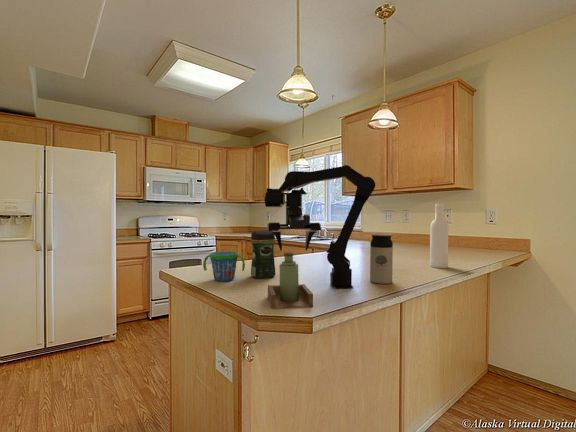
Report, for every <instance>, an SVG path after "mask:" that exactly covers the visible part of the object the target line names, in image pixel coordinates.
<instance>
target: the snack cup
mask: <svg viewBox="0 0 576 432" xmlns="http://www.w3.org/2000/svg"><path fill="white" fill-rule="evenodd" d="M238 258H240V259H241V262H242V265H241V266H242V267H241V268H242V269H241V271H242V272H244V271H245V268H246V267H245V266H246V263H245V258H244V257H243V256H242V255H241V254H239V253H238V252H237V251H214V252H211V253H210V254H208V255H207V256H205V257H204V260H203V265H202V267H203V271H205V272H206V271H207V270H208V269H207V261H208V259H210V262H211V267H212V275H213V278H214V281H216V282H229V281H233V280H234V279H235V277H236V276H235V275H236V269H237V262H238Z"/></svg>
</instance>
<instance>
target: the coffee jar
mask: <svg viewBox="0 0 576 432" xmlns="http://www.w3.org/2000/svg"><path fill="white" fill-rule="evenodd" d="M250 234H251V235H250V243H251V246H252V255H251V264H250V265H251V266H250V275H251V277H252V278H254V279H268V278H273V277H275V276H276V264H275V253H274V246H275V242H276V237H275V235H274V233H271V231H268V230H267V229H262V230H261V229H260V230H259V229H257V230H253V231H251V233H250Z"/></svg>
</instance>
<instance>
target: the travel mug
mask: <svg viewBox="0 0 576 432" xmlns="http://www.w3.org/2000/svg"><path fill="white" fill-rule="evenodd" d="M392 235H393V234H392V233H386V232H385V233H384V232H373V233H371V238H372V239H371V241H370V244H369V245H370V253H369V255H370V256H369V258H370V259H369V263H370V264H369V281H370V282H371V283H373V284H380V285H387V284H388V285H389V284H392V283H393V264H394V263H393V257H394V256H393V255H394V254H393V251H394V250H393V247H394V245H393V241H392Z"/></svg>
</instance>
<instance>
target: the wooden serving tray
mask: <svg viewBox="0 0 576 432" xmlns="http://www.w3.org/2000/svg"><path fill="white" fill-rule="evenodd" d="M298 284H299V283H298ZM267 298H268V299H267V300H268V302H269V306H270V309H295V308H296V309H298V308H313V307H314V293H313V291H311V290H310V288H308V286H307V285H306V284H305V283H303V284H302V283H301V284H299V300H298V301H295V302H283V301H281V300H280V284H275V285H274V284H272V285H271V284H269V285H267Z"/></svg>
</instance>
